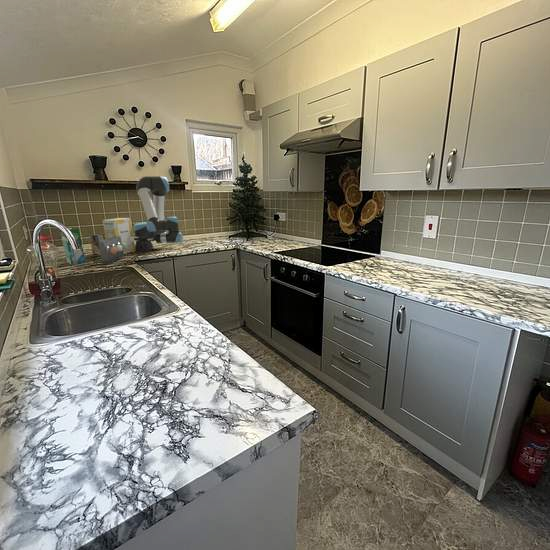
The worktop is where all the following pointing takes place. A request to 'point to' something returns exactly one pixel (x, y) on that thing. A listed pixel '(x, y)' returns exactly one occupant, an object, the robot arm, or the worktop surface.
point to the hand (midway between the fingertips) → (130, 238)
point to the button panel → (105, 249)
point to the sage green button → (124, 245)
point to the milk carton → (70, 253)
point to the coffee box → (96, 243)
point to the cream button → (119, 247)
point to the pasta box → (120, 231)
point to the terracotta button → (113, 250)
